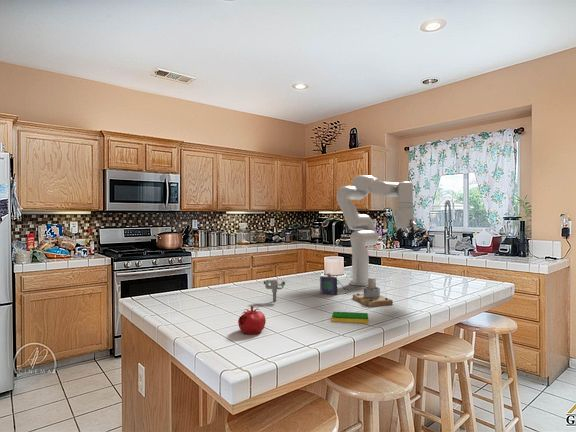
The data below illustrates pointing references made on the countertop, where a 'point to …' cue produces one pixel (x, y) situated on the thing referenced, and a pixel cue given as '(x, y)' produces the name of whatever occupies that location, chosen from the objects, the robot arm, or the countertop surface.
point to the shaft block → (372, 302)
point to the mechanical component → (273, 287)
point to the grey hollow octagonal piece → (372, 293)
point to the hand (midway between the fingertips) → (405, 239)
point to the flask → (328, 285)
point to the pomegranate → (252, 321)
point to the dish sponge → (350, 317)
